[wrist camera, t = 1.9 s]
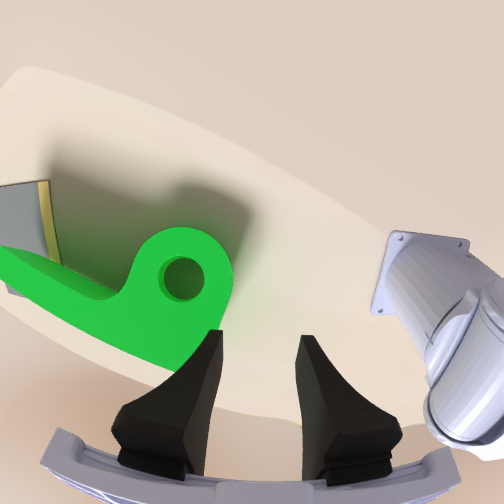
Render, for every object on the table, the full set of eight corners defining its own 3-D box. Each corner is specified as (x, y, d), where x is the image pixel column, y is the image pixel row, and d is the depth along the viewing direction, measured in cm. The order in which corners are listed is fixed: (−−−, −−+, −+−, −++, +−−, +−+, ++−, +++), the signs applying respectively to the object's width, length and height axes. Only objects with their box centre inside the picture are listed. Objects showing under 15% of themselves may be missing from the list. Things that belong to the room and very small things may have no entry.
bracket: (236, 257, 26) (248, 249, 19) (200, 353, 25) (200, 380, 18) (62, 187, 23) (28, 163, 16) (31, 274, 22) (-10, 272, 15)
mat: (49, 180, 20) (48, 180, 20) (74, 309, 25) (73, 309, 25) (-15, 189, 20) (-15, 189, 20) (9, 292, 25) (8, 293, 25)
